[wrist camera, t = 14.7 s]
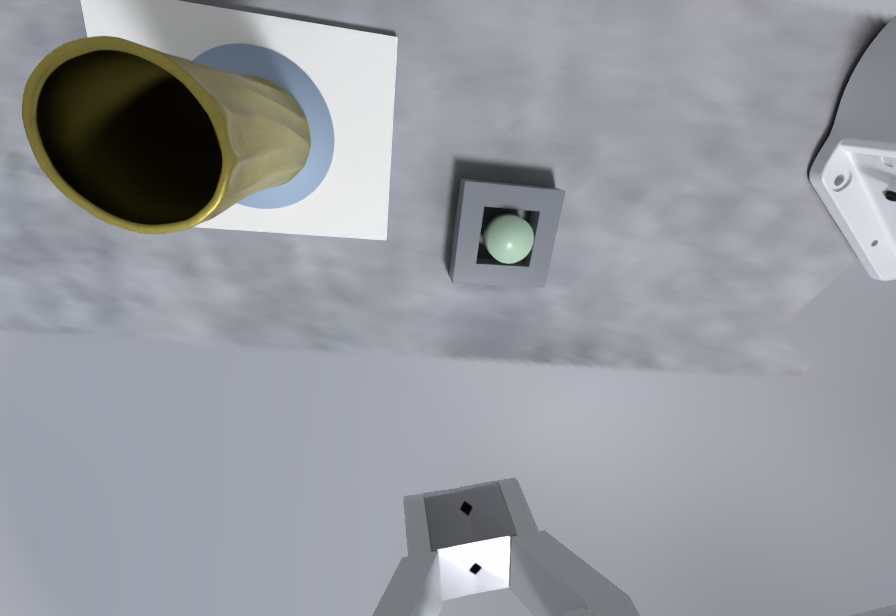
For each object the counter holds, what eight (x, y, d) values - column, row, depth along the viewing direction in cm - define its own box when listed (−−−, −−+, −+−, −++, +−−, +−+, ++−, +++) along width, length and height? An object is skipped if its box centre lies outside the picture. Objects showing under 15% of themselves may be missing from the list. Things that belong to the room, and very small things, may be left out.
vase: (291, 204, 26) (215, 278, 13) (188, 158, 24) (-17, 195, 11) (326, 110, 25) (277, 93, 12) (217, 53, 23) (15, -43, 10)
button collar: (555, 187, 29) (565, 191, 28) (536, 280, 32) (544, 287, 31) (460, 178, 28) (465, 180, 26) (448, 275, 31) (452, 282, 29)
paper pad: (397, 38, 24) (397, 36, 24) (386, 238, 29) (386, 240, 28) (82, -15, 21) (75, -18, 20) (126, 220, 26) (122, 222, 25)
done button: (530, 215, 29) (537, 219, 28) (522, 259, 30) (528, 264, 29) (486, 211, 28) (492, 215, 27) (480, 256, 29) (485, 262, 28)
